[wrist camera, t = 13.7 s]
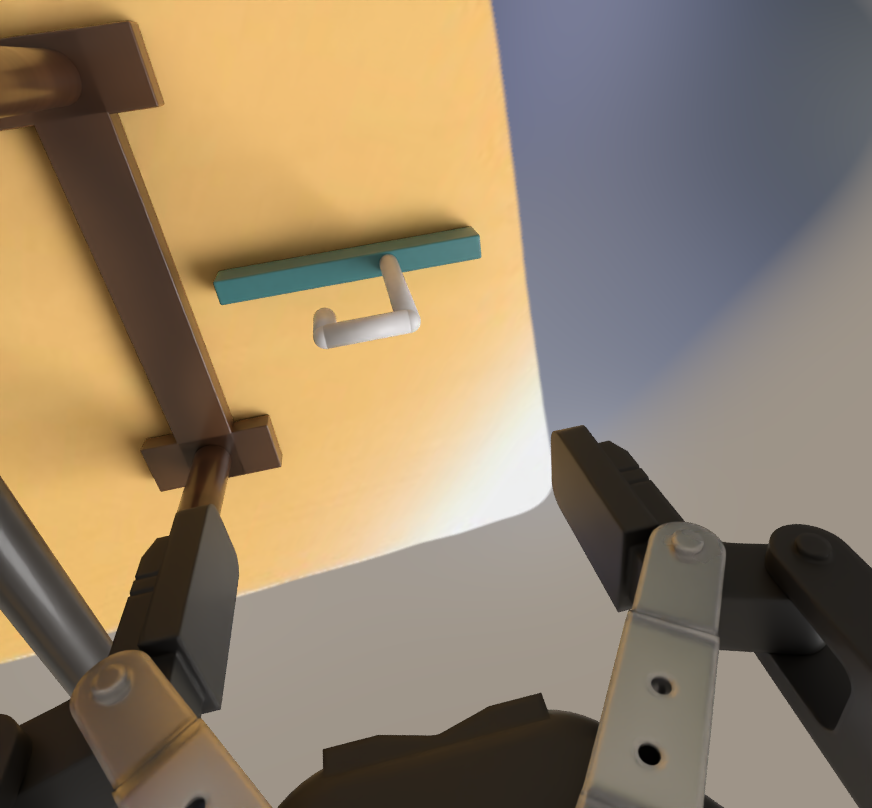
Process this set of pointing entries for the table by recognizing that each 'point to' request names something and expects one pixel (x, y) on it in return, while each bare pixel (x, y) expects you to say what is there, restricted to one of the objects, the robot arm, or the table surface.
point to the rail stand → (136, 304)
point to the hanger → (353, 267)
